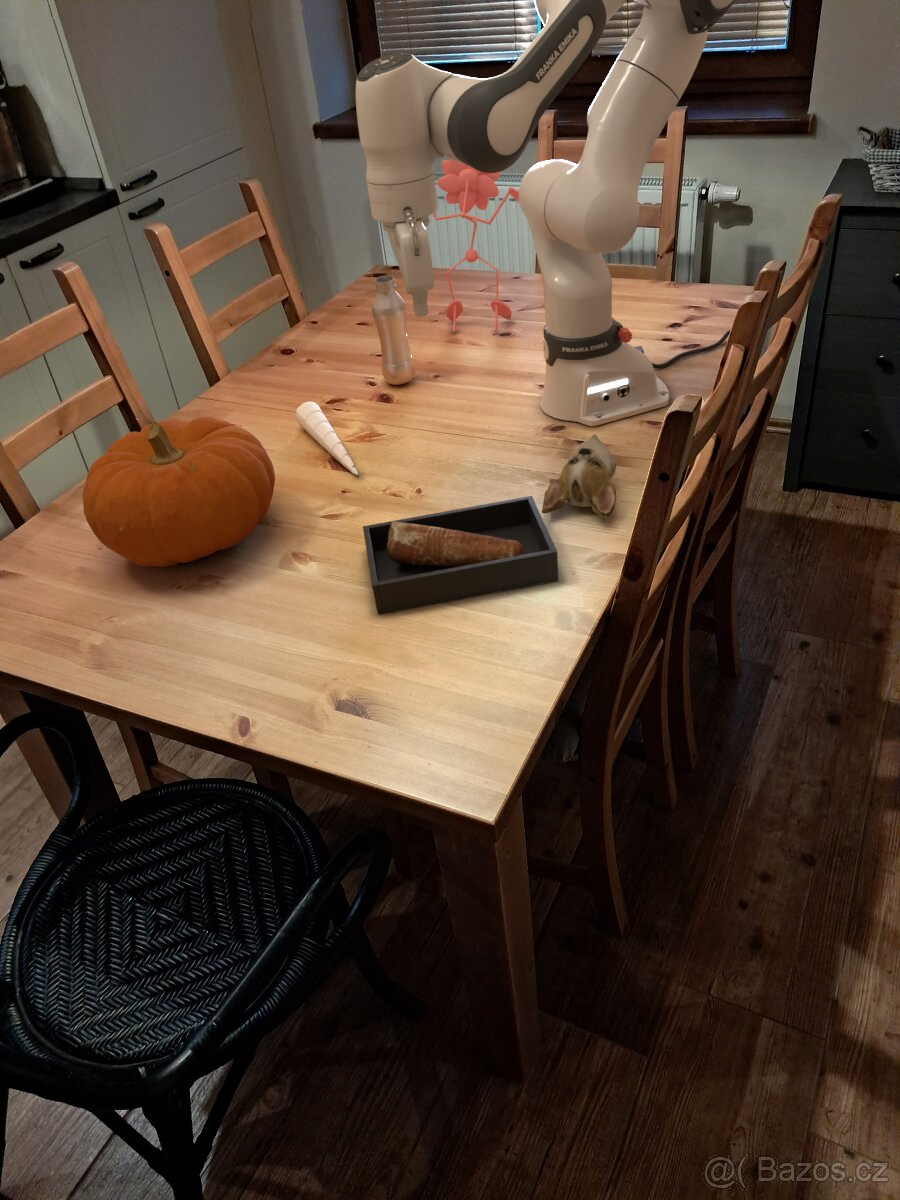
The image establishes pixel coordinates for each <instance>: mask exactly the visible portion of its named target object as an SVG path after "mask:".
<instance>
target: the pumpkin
mask: <svg viewBox="0 0 900 1200" xmlns="http://www.w3.org/2000/svg"><path fill="white" fill-rule="evenodd" d="M275 483H276V473H275V467H274V464H273V462H272V460H271V458H270V457H269V455H268V452H267V450H266V448H265V447H264V446H263V443H261V441H260V440H259V439H258V438H257V437H256V436H255V435H254V434H252V433H251V432H250V431H248V430H247V429H245V428H242V427H239V426H237V425H236V426H235V424H233V423H231V422H228V421H227V420H223V419H219V418H216V417H213V416H198V417H196V418H193V419H191V420H190V421H189V420H184V419H180V418H173V419H164V420H160V421H157V422H156V421H153V423H152V422H151V423H150V424H147V425H145V426H144V427H143V428H142V429H140V431H130V432H128V433H126V434H125V435H123V436H122V437H120V438H119V439H116V441H114V442H113V443H112V444H111V445H109V447H108V448H107V450H106V451H105V454H103V455H101V456H100V457H98V458H97V459H95V460H94V462H93V463H92V464H91V466H90V467H89V469H88V472H87V474H86V480H85V483H84V488H83V490H82V507H83V508H82V509H83V514H84V517H85V520H86V522H87V524H88V526H89V528H90V530H91V531H92V532H93V534H94V536H95V537H96V538H97V539H98V541H100V542H101V544H102V545H104V546H105V547H106V548H107V549H109V550H111V551H113V552H114V553H116V554H117V555H118V556H121V557H122V558H125V560H127V561H129V562H132V563H133V564H136V565H138V566H141V567H159V568H166V567H170V566H175V565H178V564H180V563H181V564H185V563H189V562H194V561H197V560H199V559H200V558H206V557H207V556H210V555H212V554H214V553H215V552H217V551H223V550H226V549H229V548H231V547H234V546H236V545H238V544H240V543H242V542H243V541H244V540H245V539H246V538H247V537H248V536H250V534H251V533H252V532H253V531H254V529H256V528H257V526H258V525H259V524H260V522H261V521H262V520H263V519H264V517H265V516H266V514H267V512H268V510H269V508H270V505H271V502H272V499H273V496H274V489H275Z"/></svg>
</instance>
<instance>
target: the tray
mask: <svg viewBox="0 0 900 1200" xmlns="http://www.w3.org/2000/svg"><path fill="white" fill-rule="evenodd" d="M392 521H394V522H401V523H414V524H419V525H425V526H433V527H439V528H445V529H451V530H458V531H463V532H469V533H474V534H480V535H486V536H492V537H497V538H502V539H507V540H516V541H518V542H520V544H521V545H522V546H523V548H524V553H525V555H520V556H514V557H509V558H504V559H498V560H493V561H487V562H482V563H477V564H471V565H466V566H460V567H452V566H420V565H409V564H401V563H396V562H393V561H392V560H390V559H389V557H388V553H387V543H388V533H389V529H390V525H391V522H392ZM362 531H363V536H364V543H365V550H366V556H367V563H368V568H369V569H368V570H369V575H370V583H371V589H372V593H373V598H374V603H375V608H376V612H377V615H384V614H389V613H394V612H399V611H405V610H410V609H415V608H421V607H427V606H431V605H436V604H437V605H438V604H443V603H449V602H453V601H458V600H463V599H469V598H474V597H481V596H484V595H490V594H495V593H502V592H506V591H512V590H519V589H523V588H529V587H534V586H539V585H544V584H550V583H555V582H559V561H558V560H559V559H558V550H557V548H556V546H555V544H554V542H553V540H552V537H551V535H550V533H549V531H548V528H547V526H546V524H545V522H544V520H543V517H542V515H541V513H540V510H539V509H538V507H537V504H536V501H535V500H534V498H533V495H529V496H523V497H518V498H512V499H506V500H500V501H495V502H490V503H484V504H479V505H473V506H468V507H462V508H456V509H451V510H446V511H445V510H444V511H440V512H433V513H428V514H423V515H416V516H411V517H406V518H401V519H395V520H390V521H385V522H379V523H374V524H368V525H363V526H362Z"/></svg>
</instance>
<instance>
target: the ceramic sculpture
mask: <svg viewBox="0 0 900 1200" xmlns="http://www.w3.org/2000/svg"><path fill="white" fill-rule="evenodd" d="M616 470H617V461H616V460H615V459H614V457H613V455H612V452H611V451H610V450H609V449H608V447H607V446H606V445H605V443H604V442H603V441H602V440H601V439H600V438H599V437H598V435H597V434H596V433H594V434H592V435H591V436H590V437H589V438H588V439H586V440H585V441H583V442H581V443H580V444H579V445H578V446H577V447H576V448H575V449H574V450H573V452H572V454H571V455H570V457H569V458H568V459H567V462H566V463H565V464H564V465H563V467H562V470H561V472H560V475H559V478H558V479H557V480H556V481H553V482H552V483H550V484H549V485H548V488H547V489H546V490H545V492H544V495H543V503H542V509H541V514H544V515H545V514H550V513H554V512H557V511H560V510H561V509H563V508H564V507H565V505H566V502H567V503H569V504H570V505H572V506H575V507H579V508H581V507H582V508H591V509H592V511H593V512H594V513H595V514H597V515H598V516H599V517H601V518H602V519H605V520H607V518H608V517H610V515H611V514H612V513H613V511H614V509H615V506H616V502H617V490H616V488H615V487H614V486H613V485H612V484H611V482H610V481H611V479H612V477H614V475H615V473H616Z"/></svg>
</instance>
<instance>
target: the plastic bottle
mask: <svg viewBox="0 0 900 1200" xmlns="http://www.w3.org/2000/svg"><path fill="white" fill-rule="evenodd" d="M374 285H375V289H374V290H375V292H376V293H377V294H376V295H375V297H374V300H373V302H372V305H371V313H372V317H373V320H374V323H375V326H376V329H377V333H378V338H379V343H380V352H381V353H380V354H381V374H382V376H383V379H384V380H385V381H386V382H387V383H388V384H389V385H404V384H407V383H410V382H411V381H412V380H413V379H414V377H415V375H416V365H415V362H414V361H415V360H414V358H413V355H412V352H411V348H410V345H409V344H410V343H409V340H408V338H409V337H408V327H407V305H406V303H405V300H404V298H403V297H402V295H400V294H399V293H398V292H397V291H396V289H397V284H396V279H395V277H394V275H381V276H378V277H377V278H375V279H374Z"/></svg>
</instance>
